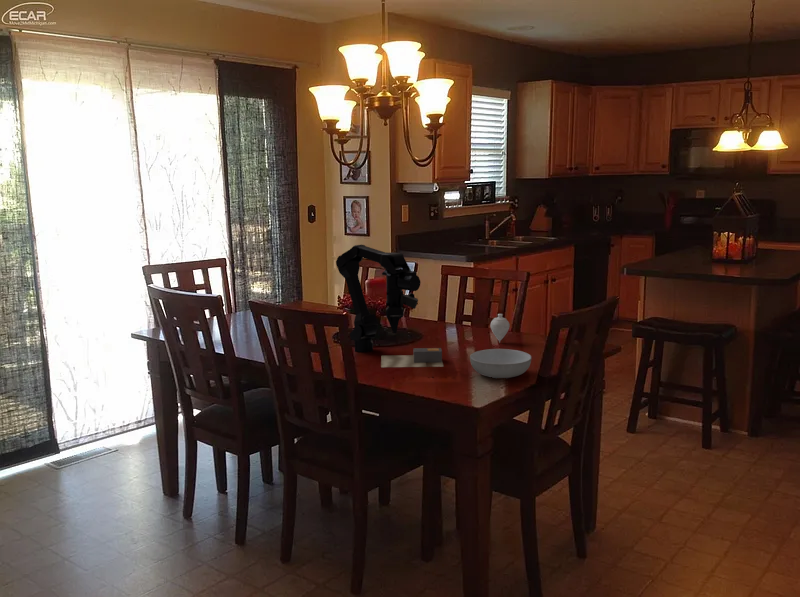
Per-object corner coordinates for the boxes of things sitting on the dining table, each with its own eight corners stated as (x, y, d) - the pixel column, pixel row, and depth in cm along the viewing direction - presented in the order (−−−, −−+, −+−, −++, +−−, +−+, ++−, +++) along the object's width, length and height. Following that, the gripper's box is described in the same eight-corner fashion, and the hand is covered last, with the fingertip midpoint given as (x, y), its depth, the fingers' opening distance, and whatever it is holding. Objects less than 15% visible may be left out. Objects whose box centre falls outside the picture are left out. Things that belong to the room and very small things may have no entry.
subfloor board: (381, 371, 254) (381, 367, 254) (381, 359, 270) (381, 355, 270) (443, 370, 255) (443, 366, 254) (440, 358, 271) (440, 354, 270)
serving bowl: (493, 363, 264) (493, 345, 263) (542, 374, 249) (543, 355, 248) (457, 375, 249) (457, 356, 248) (507, 388, 235) (507, 367, 234)
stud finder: (414, 362, 260) (414, 351, 259) (413, 359, 265) (413, 347, 264) (441, 362, 260) (441, 351, 259) (440, 358, 265) (440, 347, 264)
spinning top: (488, 344, 292) (489, 315, 290) (491, 340, 299) (492, 311, 297) (507, 345, 290) (508, 316, 288) (510, 341, 297) (511, 312, 295)
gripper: (417, 292, 252) (417, 336, 255) (415, 283, 271) (415, 324, 273) (385, 292, 252) (386, 336, 255) (385, 284, 270) (386, 325, 273)
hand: (394, 330), depth 264 cm, fingers open, 9 cm apart
